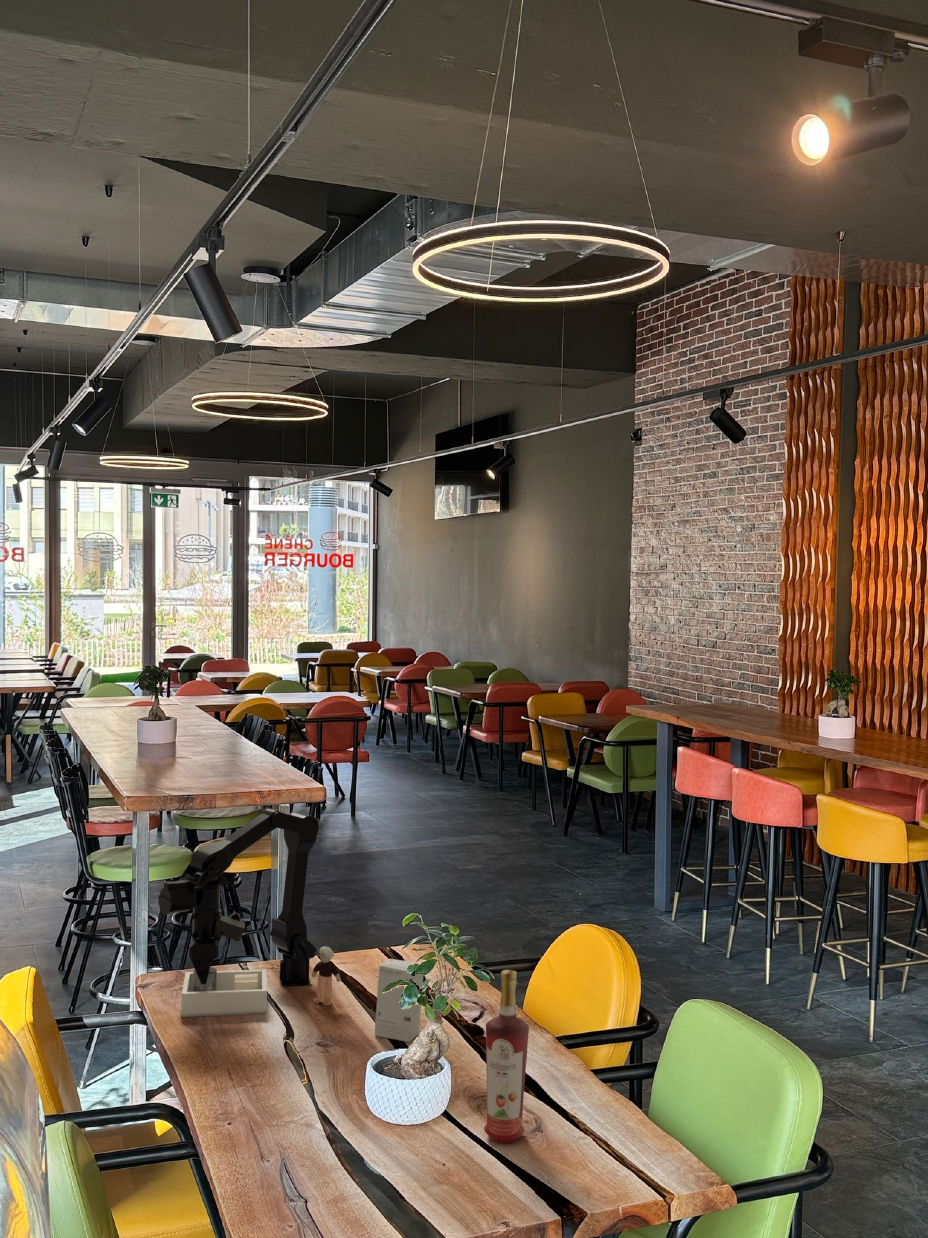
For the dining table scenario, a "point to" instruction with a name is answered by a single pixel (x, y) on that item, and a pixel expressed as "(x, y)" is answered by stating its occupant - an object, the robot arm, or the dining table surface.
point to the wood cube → (246, 982)
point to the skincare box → (396, 1003)
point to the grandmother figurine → (325, 976)
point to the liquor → (506, 1066)
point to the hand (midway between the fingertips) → (204, 977)
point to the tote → (224, 996)
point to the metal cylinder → (209, 985)
